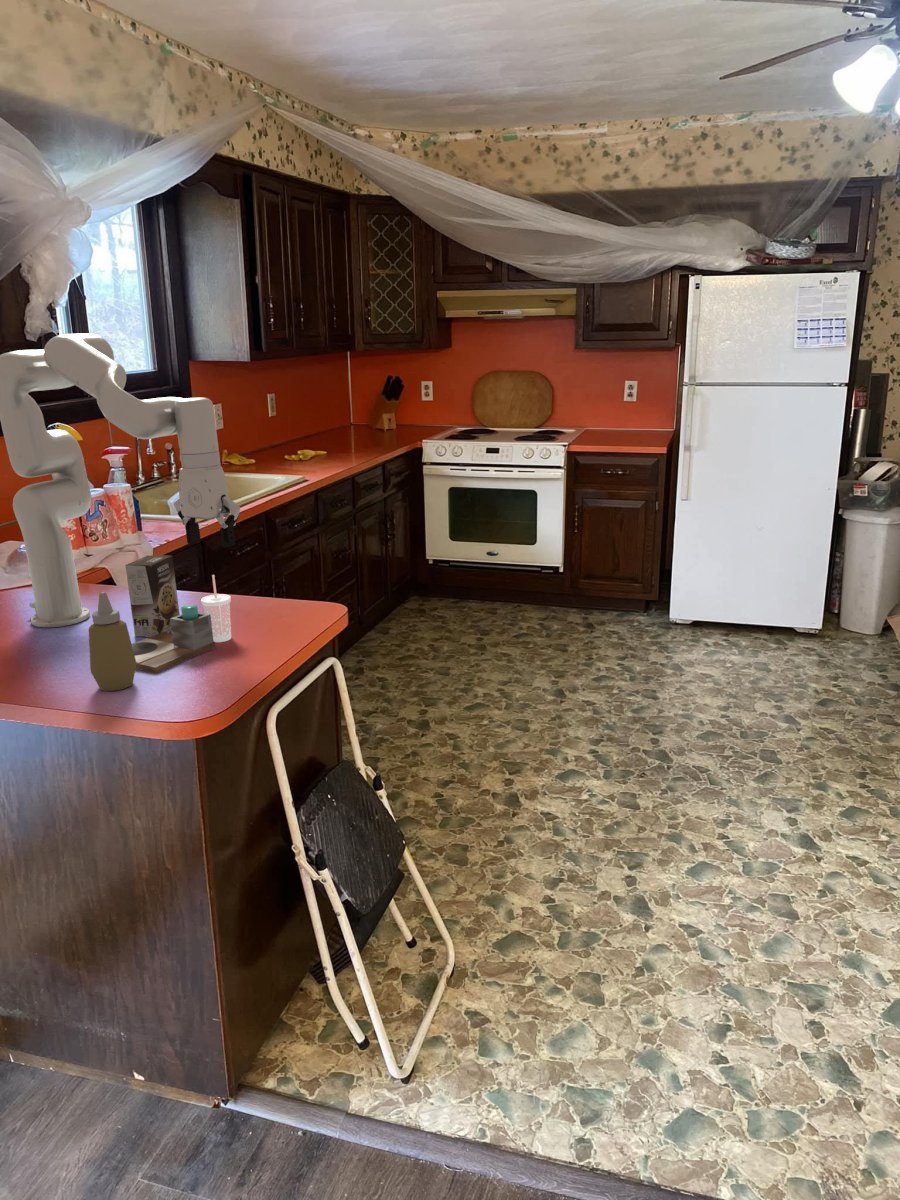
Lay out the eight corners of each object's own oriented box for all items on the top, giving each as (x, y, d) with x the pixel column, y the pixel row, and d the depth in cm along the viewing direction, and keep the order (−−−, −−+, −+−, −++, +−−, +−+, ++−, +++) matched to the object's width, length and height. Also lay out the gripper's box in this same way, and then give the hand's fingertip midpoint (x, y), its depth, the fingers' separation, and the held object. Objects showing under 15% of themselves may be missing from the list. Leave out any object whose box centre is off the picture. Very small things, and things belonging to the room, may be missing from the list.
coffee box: (160, 638, 192) (150, 565, 187) (134, 636, 193) (123, 564, 188) (182, 624, 200) (173, 554, 195) (156, 623, 202) (147, 554, 197)
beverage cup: (231, 632, 194) (224, 569, 190) (238, 640, 189) (231, 576, 184) (203, 636, 191) (195, 574, 187) (208, 645, 186) (201, 580, 182)
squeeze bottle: (100, 678, 170) (86, 588, 165) (143, 676, 170) (131, 585, 165) (87, 695, 162) (72, 600, 157) (133, 692, 163) (119, 598, 157)
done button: (179, 622, 181) (177, 608, 181) (191, 617, 184) (189, 603, 183) (190, 624, 180) (189, 610, 179) (202, 619, 183) (200, 605, 182)
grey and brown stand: (103, 661, 179) (97, 627, 177) (164, 637, 192) (160, 605, 190) (156, 673, 172) (151, 637, 170) (215, 647, 185) (211, 614, 183)
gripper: (155, 462, 180) (167, 545, 185) (219, 465, 172) (229, 551, 176) (183, 457, 186) (194, 537, 191) (246, 459, 178) (255, 543, 183)
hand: (211, 544), depth 184 cm, fingers open, 9 cm apart
